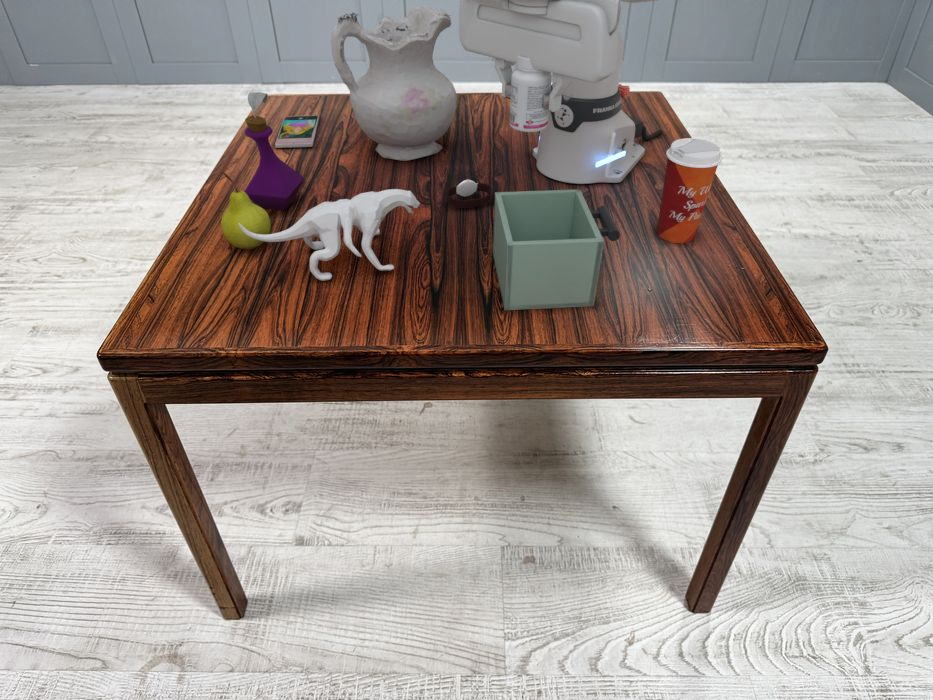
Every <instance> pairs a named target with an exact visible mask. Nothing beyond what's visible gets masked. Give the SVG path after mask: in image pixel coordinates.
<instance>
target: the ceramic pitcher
mask: <svg viewBox="0 0 933 700" xmlns="http://www.w3.org/2000/svg"><path fill="white" fill-rule="evenodd" d="M358 16H359V14H358V13H355V12H351V13H345V14H341V15H340V16H339V17H336V19H337V23H336V24H335V26H334V28H333V30H332V32H331V39H330V47H331V55H332V59H333V63H334V67H335V69H336V70H337V72H338V74H339V76H340V79H341V80H342V83H343V84H344V85H345V86H346V87H347V89H348V91H349V101H350V107H351V109H352V110H353V115H354V118H355V121H356V122H357V125H358V126H359V128H360V129H361V130H362V132H363V133H364V134H365V135H366V136H367V137H368V138H369V139H370V140H371V141H374V142H375V143H377V146H376V147H375V148H374V150H375V151H376V152H377V153H378V154H379V156H380V157H382V158H384V159H391V160H397V161H401V162H407V161H411V160H417V159H420V158H424V157H428V156H432V155H435V154H438V153H439V152H440V151H441V150H442V149H443V146H442V144H439V143H437V142H436V141H438V140H440V139H441V138H442V137H443V136H444V135H445V134H446V133H447V131H448V129H449V128H450V126H451V125H452V123H453V121H454V118H455V114H456V109H457V99H458V98H457V91H456V88H455V86H454V83H453V82H452V81H451V80H450V79H449V78H448V77H447V76H446V75H445V74H444V73H443V72H441V71H440V70H439V69H437V68H436V66H435V63H434V59H433V55H434V50H435V47H436V46H435V45H436V42H437V39H438V37H439V36H440V34H441V33H442V32H443V31H444V30H446V29H448V28H450V27H451V26H452V19H451V17H450V16H453V15H451V14H450V13H448V12H447V11H445V10H444V11H443V10H442V9H440V10H439V11H438V10H435V9H434V8H432V7H430V6H428V5H420V6H416V7H414V8H412V9H411V10H409V12H408V13H407V14H406V16H404V18H402V19H394V18H391V17H389V16H384V17H383V18H381V19H380V21H379V22H378V23H377V24H376V25H375V28H374V29H373V31H371V30H369V29H363V27H362V26H361V24H360V23H359V21H358ZM348 37H349V38H350V37H354V38H356V39H357V40H358V41H359V42H360V43H361V44H364V45H365V48H366V51H367V55H368V59H369V60H368V61H369V65H368V68H367V71H366V73H364V74H363V75H362V76H361V77H360V78H359V79H358V80H357V81H356V80H355V77H354V74H353V71H352V70H351V68H350V66H349V65H348V62H347V60H346V58H345V42H346V39H347V38H348Z"/></svg>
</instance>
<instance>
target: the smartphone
mask: <svg viewBox="0 0 933 700" xmlns="http://www.w3.org/2000/svg"><path fill="white" fill-rule="evenodd" d="M319 122H320V115H318V114H317V115H315V114H314V115H285V116H284V118H283V120H282V123H281V125H280V128H279V131H278V134H277V137H276V140H275V143H274V147H275V148H276V149H278V148H279V149H280V148H281V149H283V148H285V149H286V148H312V147H314V143H315V139H316V135H317V129H318V125H319Z"/></svg>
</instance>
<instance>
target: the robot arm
mask: <svg viewBox="0 0 933 700" xmlns="http://www.w3.org/2000/svg"><path fill="white" fill-rule="evenodd" d="M656 1H658V0H459V8H458V9H459V10H458V39H459V41H460V43H461V46H462V48H463V49H464V50H465V51H467V52H470V53H474V54H477V55H482V56H486V57H489V58H493V59H494V69H495V71H496V73H497V76H498V79H499V81H500V83H501V97H502V98H504V99H509V100H510V96H511V77H512V73H513V71H514V70H513V67H512V66H515V63H516V61H517V57H518V56H521V57H525V58H529V59H530V63H531V65H532V67H533V68H536V69H539V70H543V71H547V72H551V75H552V81H551V92H549V93H547V94H544V95H543V102H544V103H543V104H542V108H543V109H545V110H548V111H549V117H548V125H547V127H546V128H545V129H543V130H541V131H539V137H538V143H537V147H534V148H533V149H532V154H531V155H532V157H533V158H534V159H535V160H536V162H535V164H536V168H537V170H538V171H539V173H541V174H542V175H544V176H545V177H547V178H549V179H552V180H554V181H558V182H563V183H568V184H577V185H589V184H596V183H610V184H618V183H621V182H623V180H624V179H626V177H627V176H628V175H629V173H630V172H631V171H632V170H633V169H634V168H635V166H636V165H637V164H638V163H639V162H640V161H641V159H642V158H643V157H644V155H645V154H646V148H644V147H643V146H642V145H641V144H639V143H637V142H635V140H636V139H639V138H642V139H643V140H644V141H647V142H648V141H651V140H654V139H655V138H657V137H658V136H660V135H662V134H663V132H664V130H662V129H661V128H660V129H657V130H656V131H655V132H653V133H652V134H649V135H647V128H646V126H645V125H644V123H645V122H644V121H643V120H640V119H637V118H634V117H632V116H629V115H627V114H626V113H625V112H624V110H623V109H622V98H623V99H627V98H628V96H629V94H630V91H631V90H630V89H631V88H630V86H629V85H623V84H621V83H620V79H621V72H622V64H623V57H624V53H625V52H624V51H625V46H624V41H623V37H622V35H621V34H620V32H619V24H620V19H621V14H622V13H621V12H622V2H624V3H631V4H635V3H649V2H656Z"/></svg>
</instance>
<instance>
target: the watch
mask: <svg viewBox="0 0 933 700" xmlns="http://www.w3.org/2000/svg"><path fill="white" fill-rule="evenodd" d="M475 192H484V193H487V195H486V196H483V197H481V198H474V199H473V198H472V199H466V200H464V199H463V200H462V199H456V198H453V197H451V196H454V195H459V196H461V197H469V196H472V195H473V194H474V193H475ZM492 193H493V188H492V186H491V185H490V184H488V183H483V182H481V183H479V182H475V181H474V180H471V179H469V178H467V179H465V180H463V181H461V182H460V183H458V185H455V186H452V187H450V188H448V189H447V191H446V202H447V203H448V204H449V205H450V206H452V207H454V208H458V209H474V208H476V207H479V206H483V205H486V204H487V203H489V202H490V200H491V198H492Z"/></svg>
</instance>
